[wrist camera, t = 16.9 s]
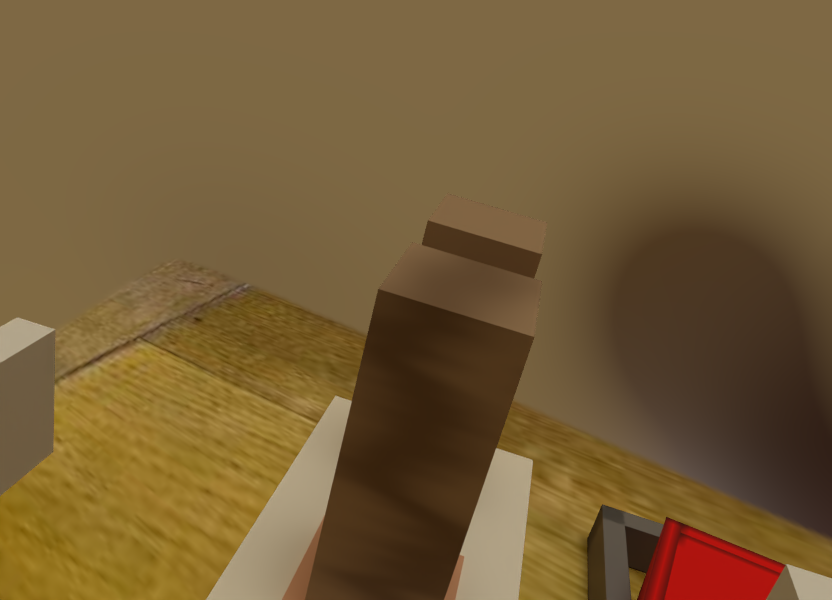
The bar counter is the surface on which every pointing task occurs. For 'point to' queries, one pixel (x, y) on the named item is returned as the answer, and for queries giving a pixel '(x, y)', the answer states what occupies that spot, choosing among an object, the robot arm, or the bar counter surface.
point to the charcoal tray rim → (618, 552)
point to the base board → (316, 463)
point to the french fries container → (705, 568)
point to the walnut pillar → (423, 425)
